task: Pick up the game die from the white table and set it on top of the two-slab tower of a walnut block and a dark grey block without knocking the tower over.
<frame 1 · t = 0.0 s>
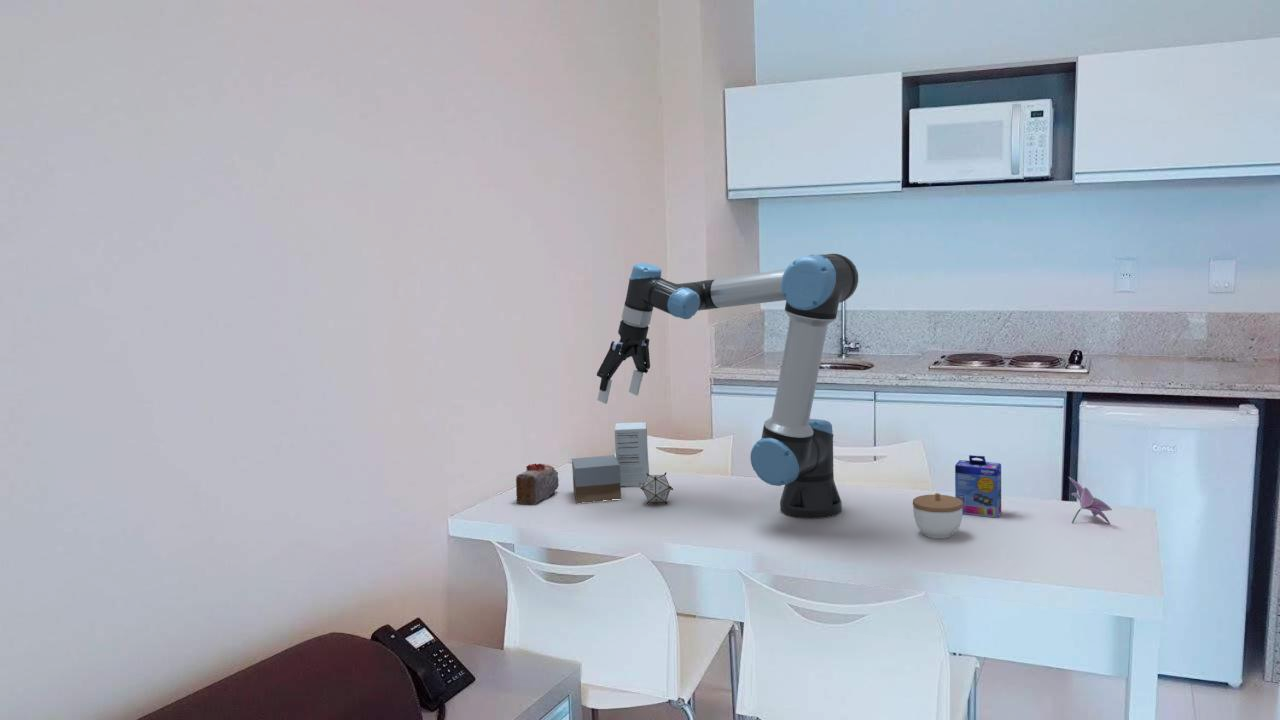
hand: (618, 397, 242), 28 cm above the table, tool tilted 20°, fingers open, 13 cm apart
lily: (1088, 522, 209), on the table
food item: (538, 499, 251), on the table
game die: (657, 503, 241), on the table
lidded jar: (938, 535, 205), on the table
ink cartridge box: (978, 513, 219), on the table
tower base: (597, 497, 251), on the table
supplement box: (633, 483, 263), on the table
tower top: (596, 479, 250), point 5 cm above the table
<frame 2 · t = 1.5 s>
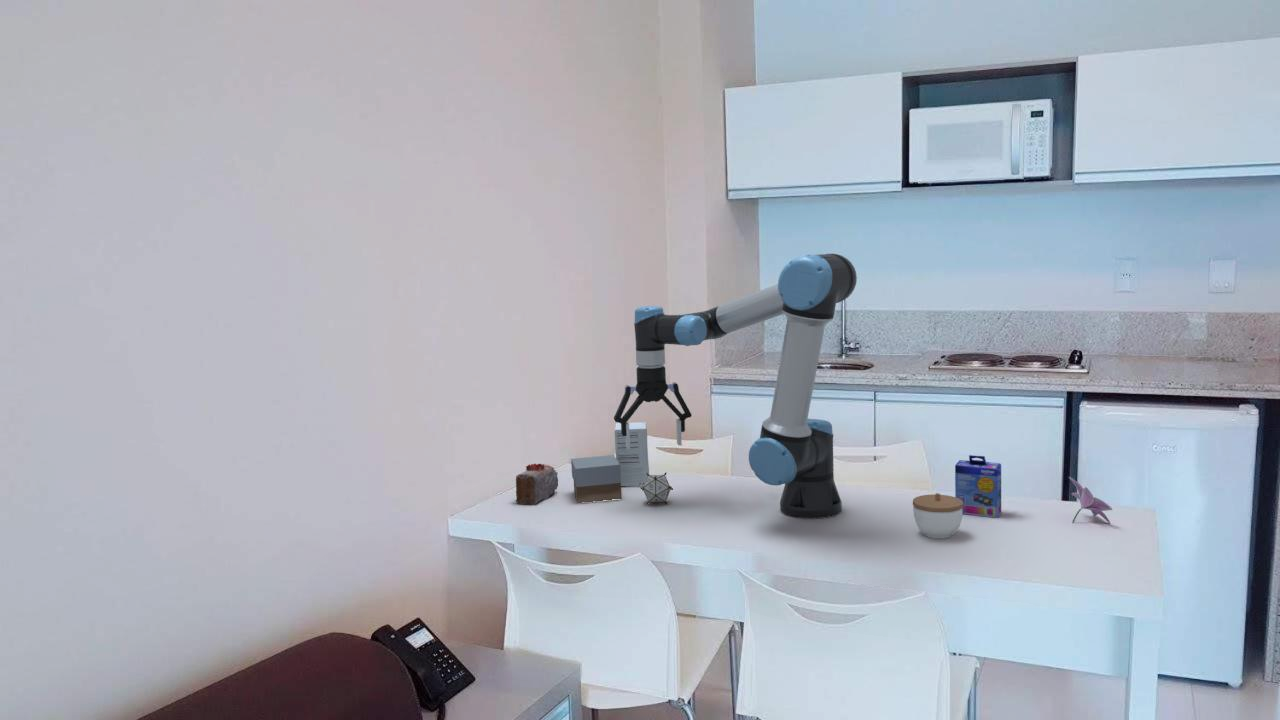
hand: (653, 446, 239), 15 cm above the table, tool pointing down, fingers open, 13 cm apart
tower base: (597, 497, 251), on the table, touching tower top
tower top: (596, 479, 250), point 5 cm above the table, touching tower base
everything else where it was.
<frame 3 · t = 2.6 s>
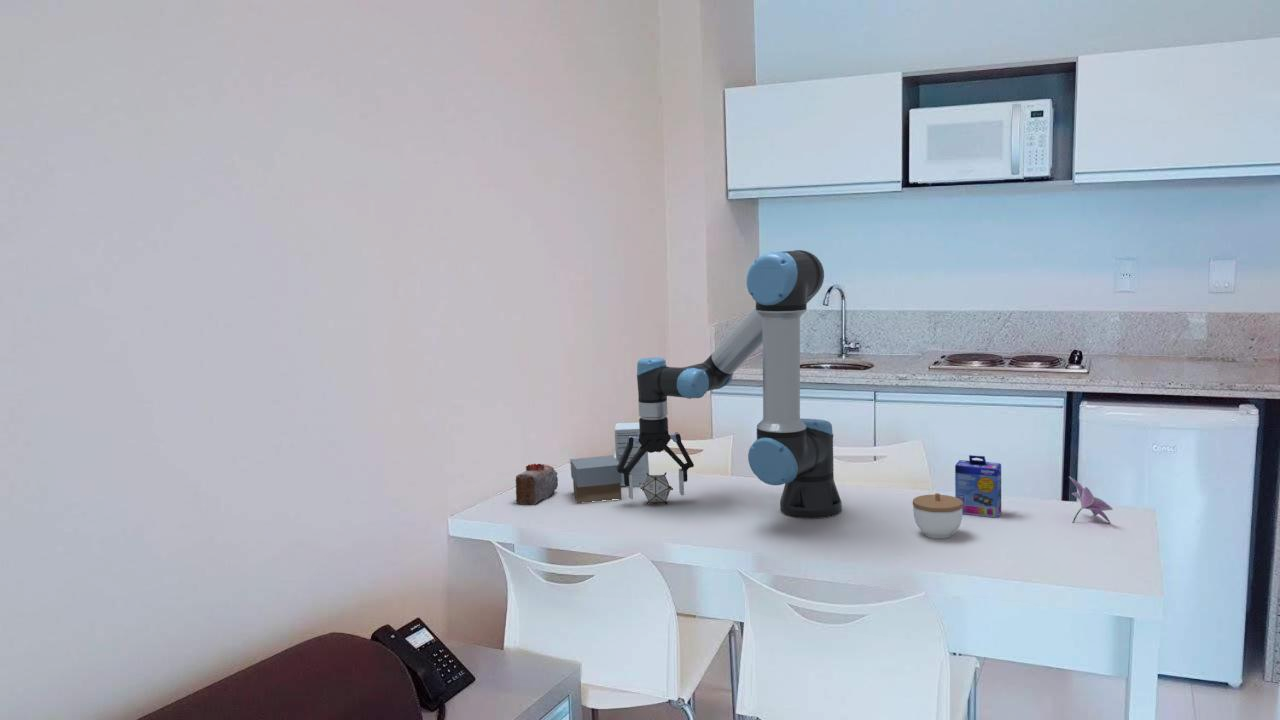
hand: (656, 495, 241), 2 cm above the table, tool pointing down, fingers open, 13 cm apart
nothing on the table moved.
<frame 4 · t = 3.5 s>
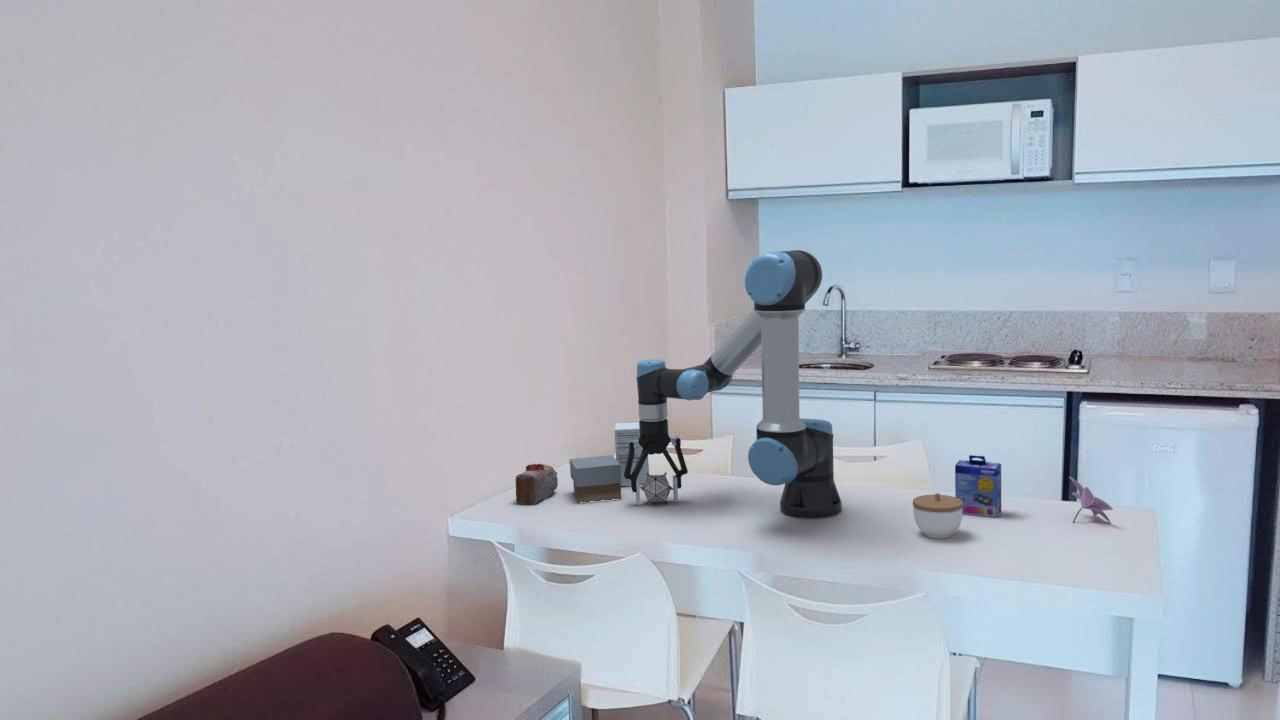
hand: (657, 502, 241), 0 cm above the table, tool pointing down, fingers closed on game die, 9 cm apart
game die: (657, 503, 241), on the table, touching gripper
everything else where it was.
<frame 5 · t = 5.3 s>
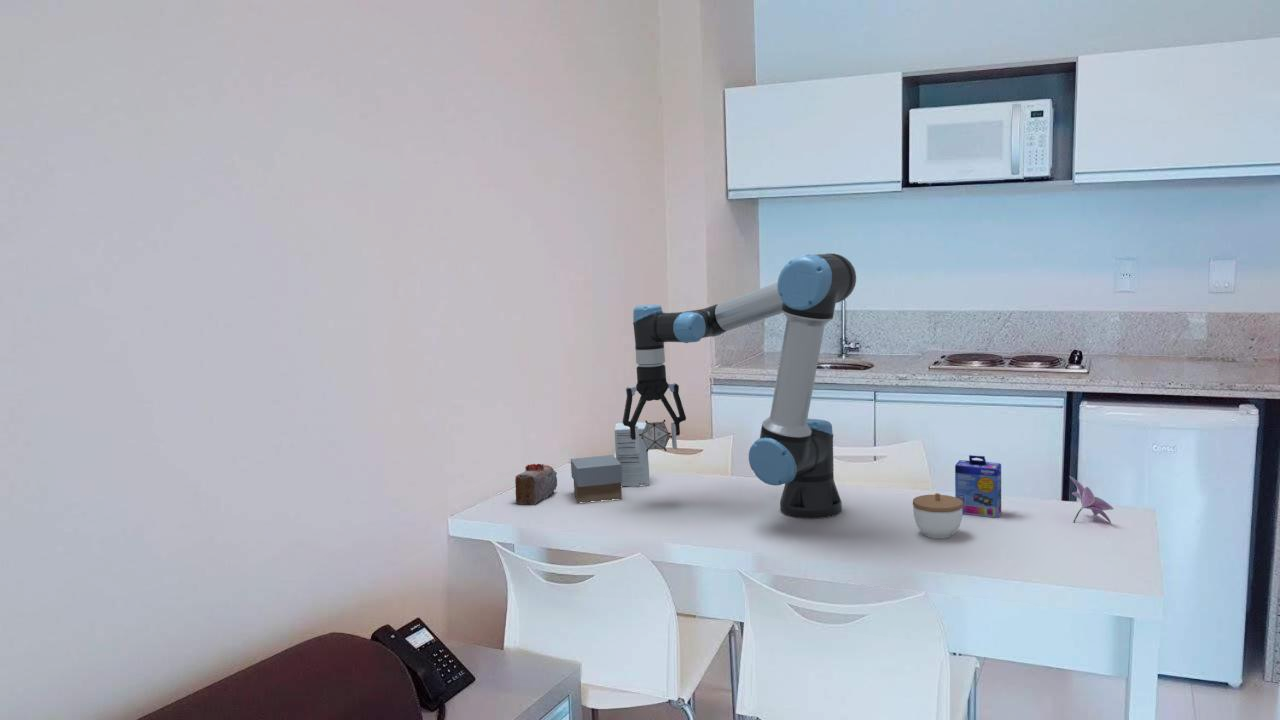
hand: (656, 449, 239), 14 cm above the table, tool pointing down, fingers closed on game die, 9 cm apart
game die: (656, 451, 239), point 14 cm above the table, touching gripper
tower base: (597, 497, 251), on the table
tower top: (596, 479, 250), point 5 cm above the table
everything else where it was.
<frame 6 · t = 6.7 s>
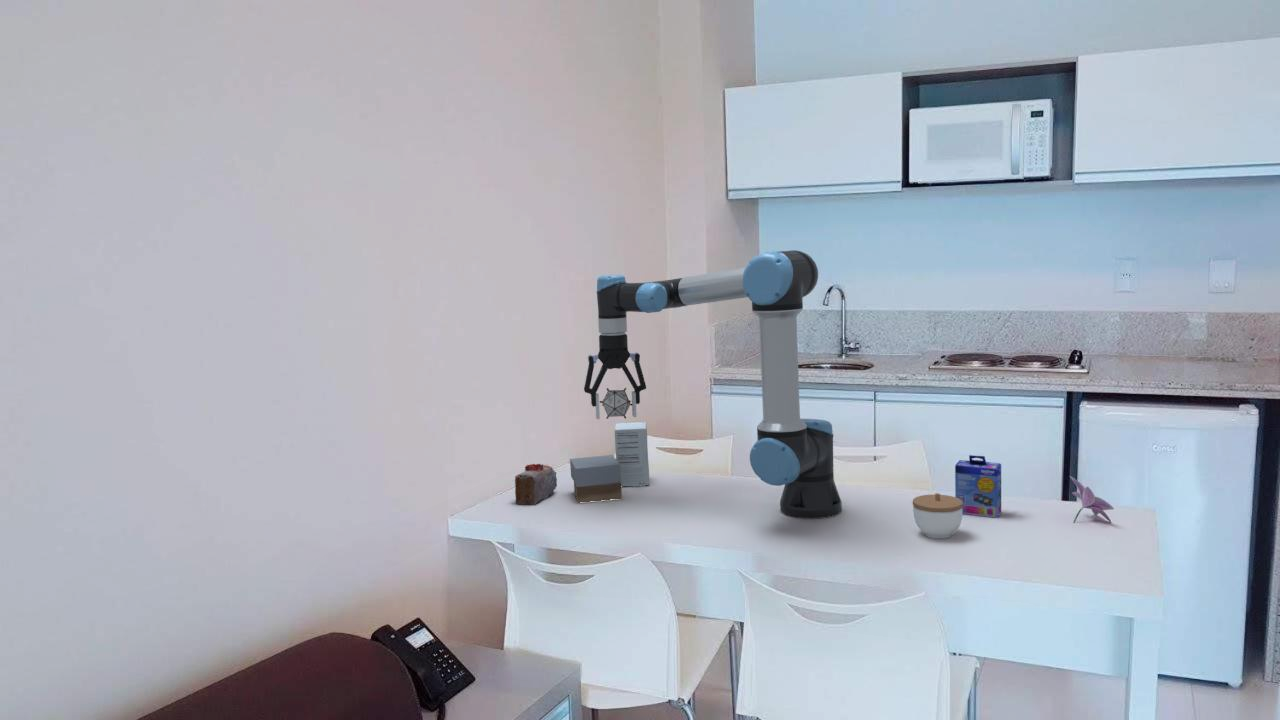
hand: (616, 417, 244), 22 cm above the table, tool pointing down, fingers closed on game die, 9 cm apart
game die: (617, 418, 244), point 22 cm above the table, touching gripper
tower base: (597, 497, 251), on the table, touching tower top
tower top: (595, 479, 250), point 5 cm above the table, touching tower base
everything else where it was.
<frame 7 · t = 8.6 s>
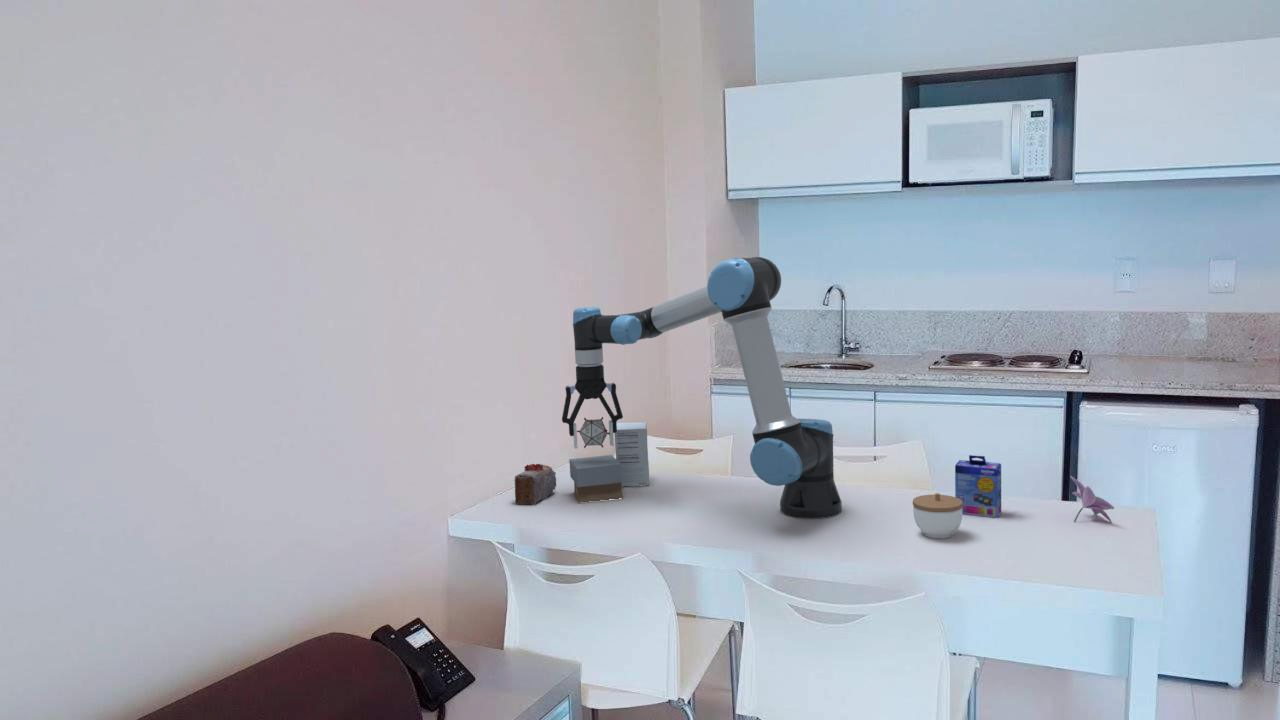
hand: (593, 446, 249), 14 cm above the table, tool pointing down, fingers closed on game die, 9 cm apart
game die: (594, 447, 249), point 14 cm above the table, touching gripper
when the fingers open (11 cm above the table, at t = 10.0 s): game die drops 2 cm, resting on tower top.
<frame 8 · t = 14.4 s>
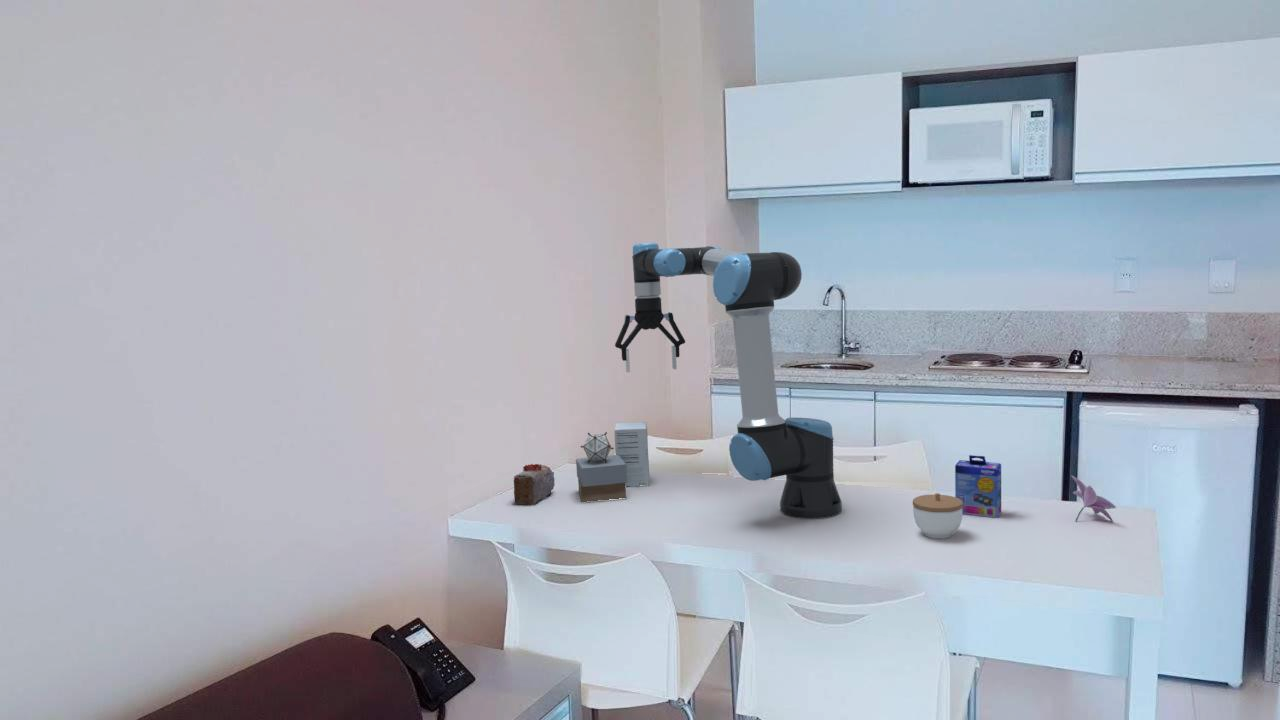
hand: (651, 370, 264), 32 cm above the table, tool pointing down, fingers open, 13 cm apart
game die: (598, 462, 250), point 9 cm above the table, touching tower top
tower base: (602, 496, 251), on the table, touching tower top
tower top: (601, 479, 250), point 4 cm above the table, touching game die, tower base
at the end: game die inside the target area (1.2 cm from its centre), point 9.3 cm above the table; tower top 0.2 cm from the tower base (horizontally); tower top tilted 0° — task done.
